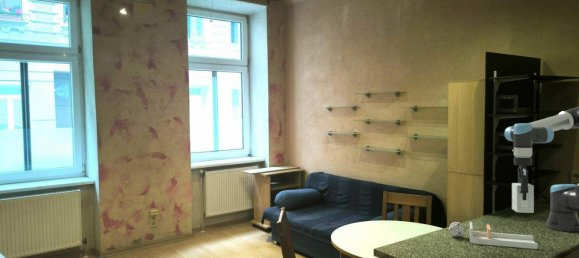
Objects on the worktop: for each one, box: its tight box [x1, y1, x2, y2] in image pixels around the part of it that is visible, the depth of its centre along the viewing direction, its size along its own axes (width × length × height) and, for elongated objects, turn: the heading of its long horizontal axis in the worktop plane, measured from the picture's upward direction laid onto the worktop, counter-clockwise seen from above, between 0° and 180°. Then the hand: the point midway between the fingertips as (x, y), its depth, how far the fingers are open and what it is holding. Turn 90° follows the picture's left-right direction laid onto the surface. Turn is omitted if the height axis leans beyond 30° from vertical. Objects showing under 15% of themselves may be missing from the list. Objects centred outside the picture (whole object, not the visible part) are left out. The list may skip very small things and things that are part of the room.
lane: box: [469, 221, 539, 250], centre depth 201 cm, size 28×13×7 cm, turn 68°
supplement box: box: [511, 182, 535, 214], centre depth 197 cm, size 7×7×13 cm
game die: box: [446, 220, 468, 239], centre depth 210 cm, size 9×8×10 cm
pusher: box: [486, 224, 492, 239], centre depth 203 cm, size 1×10×6 cm, turn 158°
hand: (522, 205), depth 197 cm, fingers closed on supplement box, 8 cm apart
